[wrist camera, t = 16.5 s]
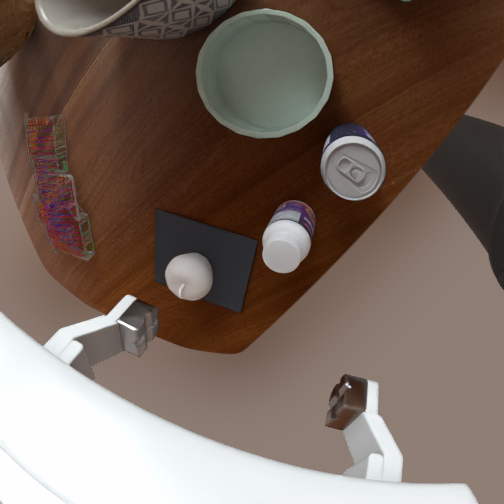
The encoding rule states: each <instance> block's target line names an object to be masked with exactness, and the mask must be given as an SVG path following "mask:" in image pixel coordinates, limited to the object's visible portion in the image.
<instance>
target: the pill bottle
mask: <svg viewBox="0 0 504 504" xmlns="http://www.w3.org/2000/svg"><path fill="white" fill-rule="evenodd" d="M314 229H315V215H314V213H313V211H312V209H311V208H310V207H309V206H308V205H307V204H305V203H303V202H301V201H297V200H291V201H287V202H284V203H283V204H281V205H280V206H279V207H278V208H277V210H276V211H275V213H274V215H273V217H272V219H271V221H270V222H269V224H268V226H267V228H266V230H265V232H264V234H263V238H262V244H263V248H264V249H263V253H262V255H263V260H264V262H265V264H266V265H267V266H268V267H269V268H270V269H271V270H273V271H275V272H278V273H288V272H291V271H293V270H295V269H296V268H297V267H298V265H299V263H300V262H301V261H302V260H303V259H304V258H305V257H306V256H307V255H308V253H309V250H310V247H311V242H312V238H313V233H314Z"/></svg>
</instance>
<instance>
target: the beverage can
mask: <svg viewBox="0 0 504 504" xmlns="http://www.w3.org/2000/svg"><path fill="white" fill-rule="evenodd" d="M320 173H321V176H322V179H323V181H324V183H325V184H326V186H327V187H328V188H329V189H330V190H331V191H332V192H333V193H334V194H336V195H338V196H339V197H341V198H343V199H347V200H352V201H358V200H363V199H366V198H368V197H370V196H372V195H373V194H374V193H375V192H376V191H377V190H378V189H379V188H380V187H381V185H382V184H383V182H384V179H385V176H386V161H385V157H384V155H383V153H382V151H381V150H380V148H379V147H378V145H377V144H376V142H375V141H374V139H373V138H372V136H371V135H370V133H369V132H368V131H367V130H366V129H365V128H363V127H362V126H360V125H358V124H355V123H342V124H339V125H337V126H336V127H334V128H333V129H332V130H331V131H330V132H329V134H328V136H327V138H326V141H325V145H324V149H323V152H322V156H321V160H320Z"/></svg>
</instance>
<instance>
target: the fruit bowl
mask: <svg viewBox="0 0 504 504" xmlns="http://www.w3.org/2000/svg"><path fill="white" fill-rule="evenodd" d="M196 80H197V87H198V92H199V94H200V96H201V98H202V101H203V103H204V105H205V107H206V109H207V110H208V111H209V112H210V113H211V114H212V115H213V116H214V118H215V119H216V120H217V121H218V122H219V123H220V124H222V125H224V126H225V127H227V128H229V129H231V130H232V131H234V132H236V133H238V134H242V135H246V136H250V137H254V138H276V137H281V136H284V135H287V134H290V133H292V132H295V131H298V130H300V129H301V128H303V127H304V126H305V125H306V124H308V123H309V122H310V121H312V120H313V119H314V118H316V117H317V116H318V114H319V113H320V112H321V110H322V109H323V107H324V106H325V104H326V103H327V101H328V100H329V98H330V95H331V91H332V87H333V84H334V71H333V61H332V57H331V55H330V53H329V50H328V48H327V46H326V44H325V42H324V40H323V38H322V37H321V36H320V35H319V34H318V33H317V32H316V31H315V30H314V29H313V28H312V27H311V26H310V25H309V24H308V23H307V22H306V21H304V20H302V19H300V18H298V17H296V16H294V15H292V14H289V13H287V12H283V11H277V10H270V9H259V10H252V11H246V12H242V13H239V14H237V15H235V16H233V17H231V18H229V19H227V20H225V21H224V22H222V23H221V24H220V25H219V26H218V27H217V28H216V29H215V30H214V31H213V32H212V33H211V34H210V35H209V36H208V37H207V39H206V41H205V43H204V45H203V47H202V48H201V50H200V52H199V55H198V61H197V66H196Z"/></svg>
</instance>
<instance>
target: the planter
mask: <svg viewBox="0 0 504 504" xmlns="http://www.w3.org/2000/svg"><path fill="white" fill-rule="evenodd" d="M235 1H236V0H35V8H36V12H37V15H38V18H39V20H40V22H41V23H42V25H43V26H44V27H45V28H46V29H47V30H48V31H49V32H51V33H53V34H55V35H57V36H61V37H128V38H144V39H156V40H168V39H175V38H180V37H184V36H187V35H190V34H192V33H195V32H197V31H199V30H201V29H203V28H205V27H207V26H208V25H210V24H211V23H213V22H214V21H215V20H217V19H218V18H219V17H220V16H222V15H223V14H224V13H225V12H226V11H227V10H228V9H229V8H230V7H231V6H232V4H233V3H234V2H235Z"/></svg>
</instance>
